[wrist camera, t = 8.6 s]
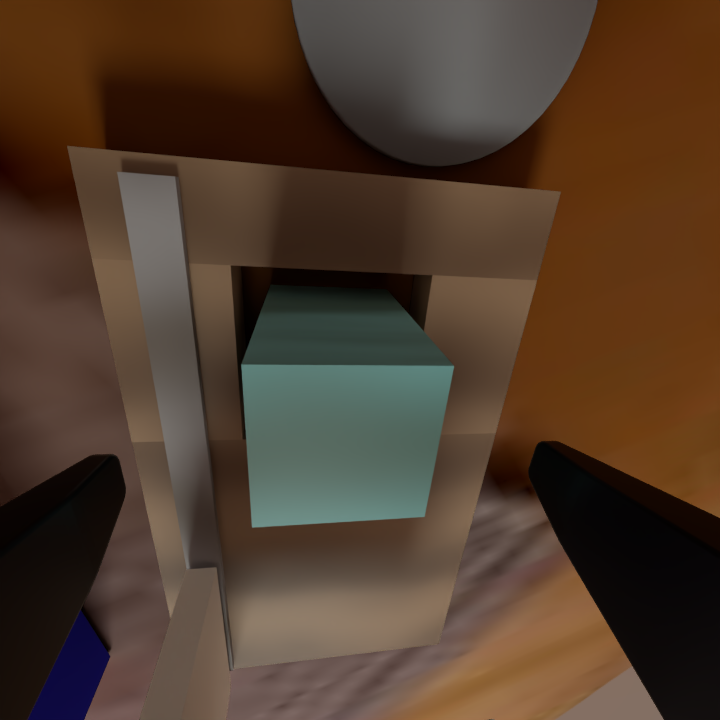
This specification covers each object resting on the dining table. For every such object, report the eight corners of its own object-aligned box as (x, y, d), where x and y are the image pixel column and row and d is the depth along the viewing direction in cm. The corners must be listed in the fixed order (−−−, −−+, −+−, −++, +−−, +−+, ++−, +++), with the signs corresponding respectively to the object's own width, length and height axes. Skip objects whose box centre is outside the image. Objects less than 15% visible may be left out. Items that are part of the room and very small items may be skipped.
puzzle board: (105, 153, 11) (60, 144, 9) (525, 192, 13) (566, 191, 11) (193, 633, 21) (181, 682, 19) (427, 608, 23) (440, 649, 21)
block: (270, 284, 13) (241, 364, 7) (386, 289, 14) (454, 366, 8) (273, 389, 15) (252, 527, 9) (376, 388, 16) (424, 516, 10)
